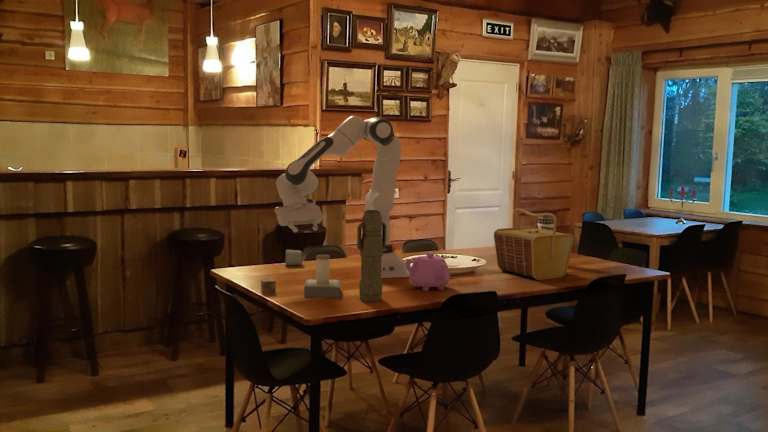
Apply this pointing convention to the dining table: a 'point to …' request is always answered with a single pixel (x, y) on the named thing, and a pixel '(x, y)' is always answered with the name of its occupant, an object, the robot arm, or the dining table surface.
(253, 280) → the dining table surface
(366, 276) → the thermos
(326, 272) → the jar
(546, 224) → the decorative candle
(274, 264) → the dining table surface
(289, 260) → the ceramic mug
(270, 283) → the walnut cube
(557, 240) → the picnic basket
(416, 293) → the dining table surface
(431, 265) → the purple piggy bank
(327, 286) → the plinth
